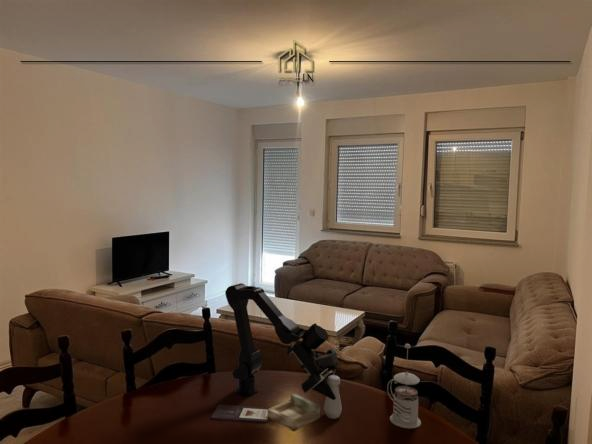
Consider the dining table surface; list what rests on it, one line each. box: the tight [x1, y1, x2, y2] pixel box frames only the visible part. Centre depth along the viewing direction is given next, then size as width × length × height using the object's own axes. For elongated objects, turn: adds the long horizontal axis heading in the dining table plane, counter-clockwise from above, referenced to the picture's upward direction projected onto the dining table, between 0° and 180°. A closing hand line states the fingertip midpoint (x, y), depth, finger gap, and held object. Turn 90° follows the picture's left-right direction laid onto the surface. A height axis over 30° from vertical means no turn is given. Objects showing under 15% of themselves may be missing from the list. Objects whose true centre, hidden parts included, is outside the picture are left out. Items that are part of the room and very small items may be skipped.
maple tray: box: [268, 393, 321, 432], centre depth 138 cm, size 12×12×4 cm
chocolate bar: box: [210, 403, 270, 424], centre depth 140 cm, size 9×1×18 cm
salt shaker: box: [323, 375, 342, 420], centre depth 139 cm, size 6×6×13 cm
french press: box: [386, 343, 422, 429], centre depth 138 cm, size 10×12×25 cm
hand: (337, 396), depth 139 cm, fingers closed on salt shaker, 3 cm apart
